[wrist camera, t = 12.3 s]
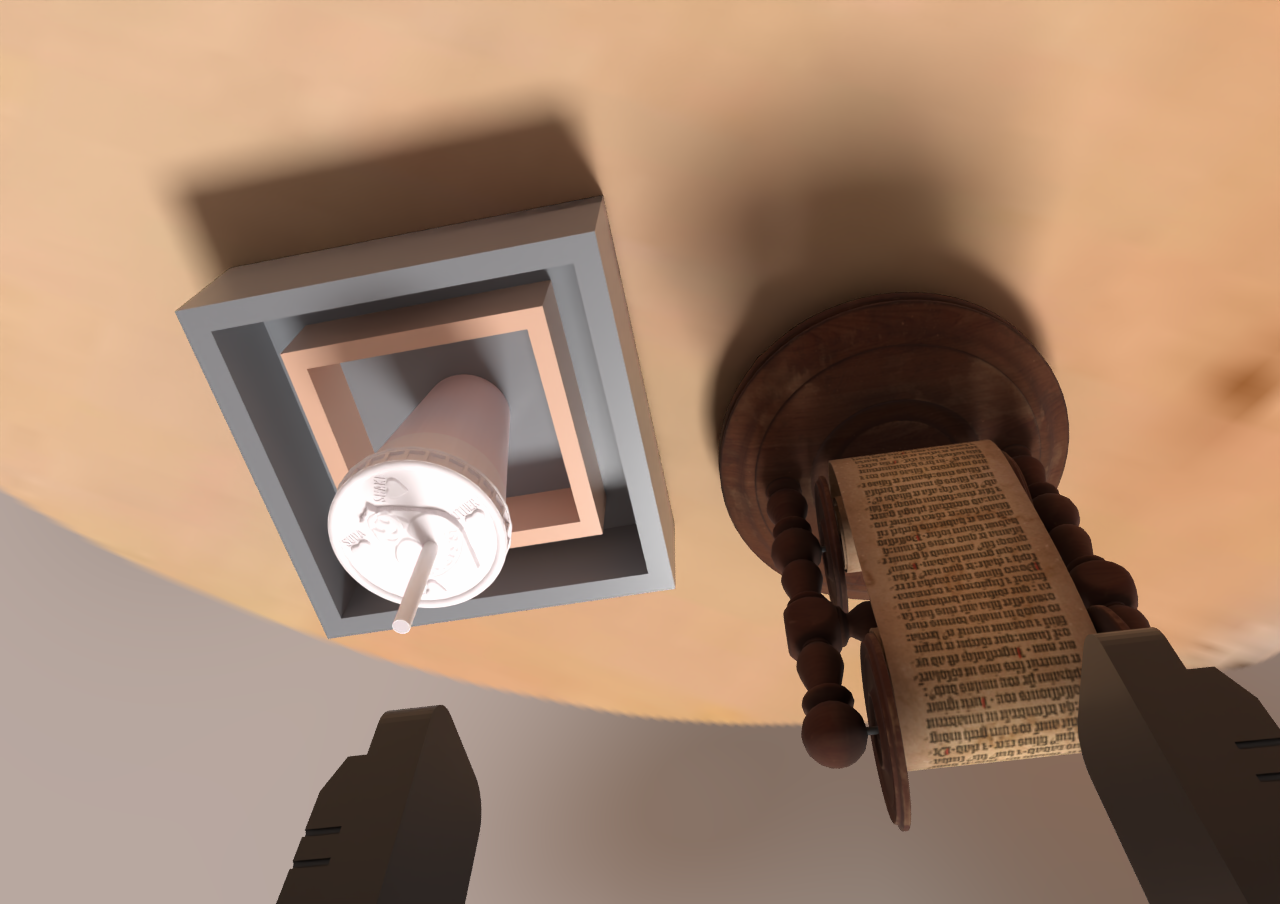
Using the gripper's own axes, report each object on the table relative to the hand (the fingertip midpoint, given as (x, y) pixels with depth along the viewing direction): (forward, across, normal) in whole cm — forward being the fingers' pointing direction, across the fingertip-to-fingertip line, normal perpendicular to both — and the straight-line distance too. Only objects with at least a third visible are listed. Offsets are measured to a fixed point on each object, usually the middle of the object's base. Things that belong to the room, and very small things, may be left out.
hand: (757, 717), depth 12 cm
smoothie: (+27, +12, +9) cm, 31 cm away
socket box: (+28, +12, +9) cm, 32 cm away
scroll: (+29, -6, +14) cm, 32 cm away
